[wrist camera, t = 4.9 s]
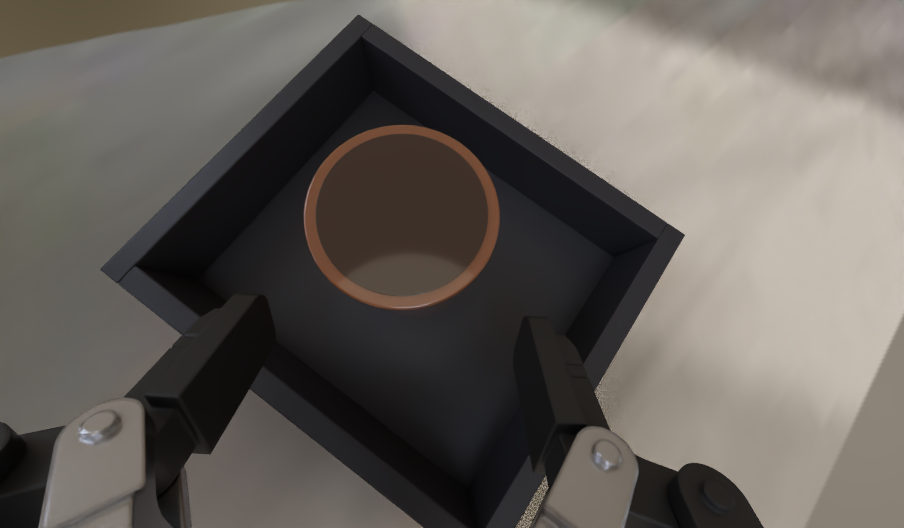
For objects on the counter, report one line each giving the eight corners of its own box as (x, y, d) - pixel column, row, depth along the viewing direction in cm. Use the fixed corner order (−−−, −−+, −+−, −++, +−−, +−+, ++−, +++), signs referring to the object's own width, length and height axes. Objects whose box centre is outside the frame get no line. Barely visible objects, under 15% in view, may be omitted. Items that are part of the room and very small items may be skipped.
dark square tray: (183, 286, 19) (98, 269, 14) (373, 83, 22) (358, 13, 18) (470, 510, 18) (486, 579, 13) (626, 257, 21) (685, 234, 16)
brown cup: (339, 278, 19) (258, 229, 10) (405, 198, 20) (386, 89, 11) (426, 343, 18) (422, 353, 9) (488, 257, 19) (537, 193, 11)
